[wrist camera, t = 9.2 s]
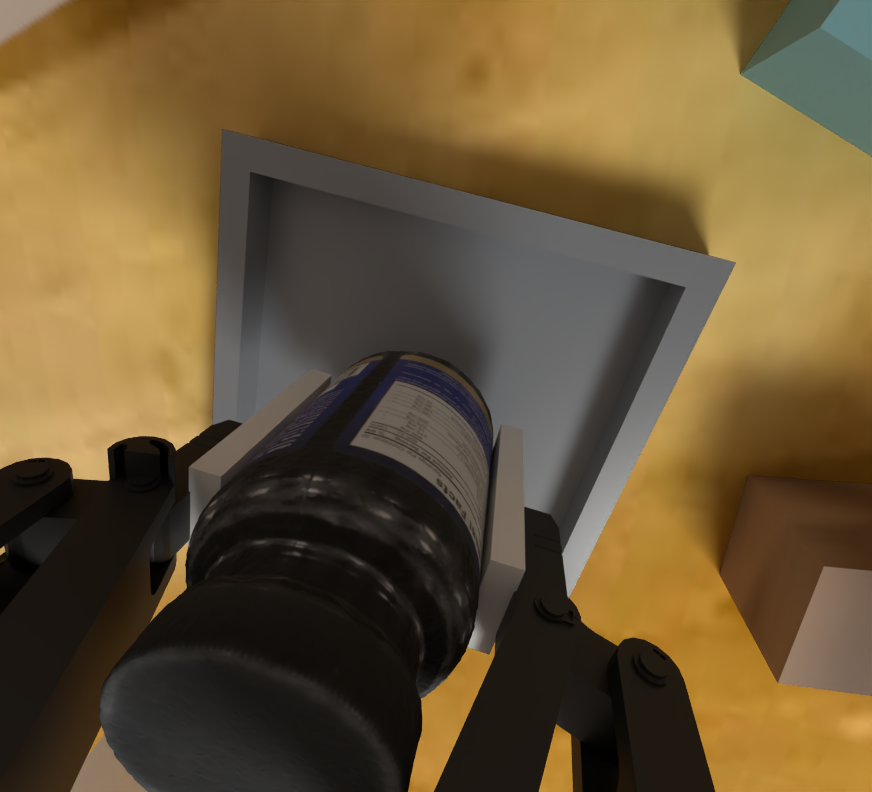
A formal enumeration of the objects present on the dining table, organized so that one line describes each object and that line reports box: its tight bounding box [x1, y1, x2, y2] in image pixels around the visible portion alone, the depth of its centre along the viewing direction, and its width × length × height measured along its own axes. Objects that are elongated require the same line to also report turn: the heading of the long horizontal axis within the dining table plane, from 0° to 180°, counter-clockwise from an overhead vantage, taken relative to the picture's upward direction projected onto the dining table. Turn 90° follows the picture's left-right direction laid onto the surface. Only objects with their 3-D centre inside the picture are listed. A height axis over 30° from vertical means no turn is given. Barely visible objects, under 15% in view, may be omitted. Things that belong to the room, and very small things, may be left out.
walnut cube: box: [720, 475, 872, 696], centre depth 16 cm, size 5×5×5 cm
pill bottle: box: [99, 351, 493, 792], centre depth 11 cm, size 6×6×11 cm
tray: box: [212, 129, 735, 597], centre depth 18 cm, size 16×16×2 cm
